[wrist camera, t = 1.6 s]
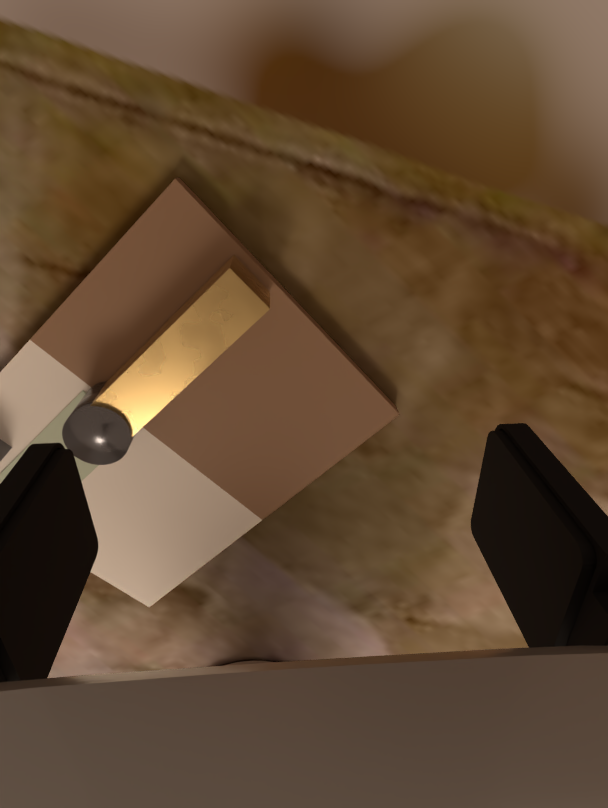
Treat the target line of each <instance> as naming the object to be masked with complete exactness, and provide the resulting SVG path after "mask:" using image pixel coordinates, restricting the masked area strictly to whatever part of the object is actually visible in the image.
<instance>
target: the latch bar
mask: <svg viewBox="0 0 608 808" xmlns="http://www.w3.org/2000/svg"><path fill="white" fill-rule="evenodd" d="M269 310H270V291H269V290H268V289H267V288H266V287H265V286H264V285H263V284H262V283H261V282H260V281H259V280H258V279H257V278H256V277H255V276H254V275H253V274H252V273H251V272H250V271H249V270H248V269H247V268H246V267H245V266H244V265H243V264H242V262H241V261H240V260H239V259H238V258H237V257H236V256H235V255H233V256H232V257H231V258H230V259H229V260H228V261H227V262H226V263H225V264H224V265H223V266H222V267H221V268H220V269H219V270H218V271H217V272H216V273H215V274H214V275H213V276H212V277H211V278H210V279H209V280H208V281H207V282H206V283H205V284H204V285H203V286H202V287H201V288H200V289H199V290H198V291H197V292H196V293H195V294H194V295H193V296H192V297H191V298H190V299H189V300H188V301H187V302H186V303H185V304H184V305H183V306H182V307H181V308H180V309H179V310H178V311H177V312H176V313H175V314H174V315H173V316H172V317H171V318H170V319H169V320H168V321H167V322H166V323H165V324H164V325H163V326H162V327H161V328H160V329H159V330H158V331H157V332H156V333H155V334H154V335H153V336H152V337H151V338H150V339H149V340H148V341H147V342H146V343H145V344H144V345H143V346H142V347H141V348H140V349H139V350H138V351H137V352H136V353H135V354H134V355H133V356H132V357H131V358H130V359H129V360H128V361H127V362H126V363H125V364H124V365H123V366H122V367H121V368H120V369H119V370H118V371H117V372H116V373H115V374H114V375H113V376H112V377H111V378H110V379H109V380H108V381H104V382H100V383H97V384H95V385H94V386H92V387H91V388H90V389H89V390H88V391H87V393H86V394H85V395H84V397H83V398H82V399H81V401H80V402H79V404H78V405H77V406H76V408H75V409H74V410H73V412H72V413H71V415H70V416H69V417H68V419H67V420H66V422H65V423H64V425H63V429H62V438H63V441H64V444H65V446H66V447H67V449H70V450H71V451H72V452H73V454H74V456H75V457H77V458H78V459H80V460H82V461H84V462H87V463H90V464H94V465H107V464H112V463H114V462H117V461H118V460H120V459H121V458H123V457H124V455H125V454H126V453H127V451H128V449H129V447H130V444H131V442H132V440H133V438H134V436H135V434H136V433H137V432H138V431H139V430H140V429H141V428H142V427H143V426H145V425H146V424H147V423H148V422H149V421H150V420H151V419H152V418H153V417H154V416H155V415H156V414H157V413H159V412H160V411H161V410H162V409H163V408H164V407H165V406H166V405H167V404H168V403H169V402H170V401H171V400H173V399H174V398H175V397H176V396H177V395H178V394H179V393H180V392H181V391H182V390H183V389H184V388H185V387H187V386H188V385H189V384H190V383H191V382H192V381H193V380H194V379H195V378H196V377H197V376H198V375H199V374H201V373H202V372H203V371H204V370H205V369H206V368H207V367H208V366H209V365H210V364H211V363H212V362H214V361H215V360H216V359H217V358H218V357H219V356H220V355H221V354H222V353H223V352H224V351H225V350H226V349H228V348H229V347H230V346H231V345H232V344H233V343H234V342H235V341H236V340H237V339H238V338H239V337H240V336H242V335H243V334H244V333H245V332H246V331H247V330H248V329H249V328H250V327H251V326H252V325H253V324H254V323H256V322H257V321H258V320H259V319H260V318H261V317H262V316H263V315H264V314H265V313H266V312H267V311H269Z"/></svg>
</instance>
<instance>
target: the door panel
mask: <svg viewBox="0 0 608 808" xmlns="http://www.w3.org/2000/svg"><path fill="white" fill-rule="evenodd" d="M233 255H235V256H236V257H237V258H238V259H239V260H240V261H241V262H242V264H243V265H244V266H245V267H246V268H247V269H248V270H249V271H250V272H251V273H252V274H253V275H254V276H255V277H256V278H257V279H258V280H259V281H260V282H261V283H262V284H263V285H264V286H265V287H266V288H267V289H268V290H269V291H270V310H269V311H267V312H266V313H265V314H264V315H263V316H262V317H261V318H260V319H259V320H258V321H257V322H256V323H254V324H253V325H252V326H251V327H250V328H249V329H248V330H247V331H246V332H245V333H244V334H243V335H242V336H240V337H239V338H238V339H237V340H236V341H235V342H234V343H233V344H232V345H231V346H230V347H229V348H228V349H226V350H225V351H224V352H223V353H222V354H221V355H220V356H219V357H218V358H217V359H216V360H215V361H214V362H212V363H211V364H210V365H209V366H208V367H207V368H206V369H205V370H204V371H203V372H202V373H201V374H199V375H198V376H197V377H196V378H195V379H194V380H193V381H192V382H191V383H190V384H189V385H188V386H187V387H185V388H184V389H183V390H182V391H181V392H180V393H179V394H178V395H177V396H176V397H175V398H174V399H173V400H171V401H170V402H169V403H168V404H167V405H166V406H165V407H164V408H163V409H162V410H161V411H160V412H159V413H157V414H156V415H155V416H154V417H153V418H152V419H151V420H150V421H149V422H148V423H147V424H146V425H145V426H143V427H142V428H141V429H140V430H139V431H138V432H137V433H136V434H135V436H134V438H133V440H132V442H131V444H130V447H129V449H128V451H127V453H126V454H125V455H124V457H123V458H121V459H120V460H118V461H117V462H114V463H112V464H107V465H94V464H90V463H87V462H84V461H82V460H80V459H78V458H77V457H75V456H74V458H75V461H76V465H77V468H78V472H79V475H80V479H81V482H82V486H83V489H84V493H85V496H86V500H87V503H88V507H89V510H90V514H91V517H92V521H93V524H94V528H95V531H96V535H97V538H98V553H97V557H96V559H95V562H94V564H93V567H92V569H91V571H90V572H92V573H93V574H95V575H97V576H98V577H100V578H102V579H103V580H105V581H106V582H108V583H110V584H111V585H113V586H115V587H116V588H118V589H120V590H121V591H123V592H125V593H126V594H128V595H130V596H131V597H133V598H135V599H136V600H138V601H140V602H141V603H143V604H144V605H146V606H148V607H150V606H151V605H153V604H154V603H155V602H157V601H158V600H159V599H161V598H162V597H163V596H164V595H166V594H167V593H168V592H170V591H171V590H172V589H174V588H175V587H176V586H177V585H179V584H180V583H181V582H183V581H184V580H185V579H187V578H188V577H189V576H190V575H192V574H193V573H194V572H196V571H197V570H198V569H199V568H201V567H202V566H203V565H205V564H206V563H207V562H209V561H210V560H211V559H212V558H214V557H215V556H216V555H218V554H219V553H220V552H222V551H223V550H224V549H225V548H227V547H228V546H229V545H231V544H232V543H233V542H235V541H236V540H237V539H238V538H240V537H241V536H242V535H244V534H245V533H246V532H248V531H249V530H250V529H251V528H253V527H254V526H255V525H257V524H258V523H259V522H261V521H262V520H263V519H264V518H266V517H267V516H268V515H270V514H271V513H272V512H274V511H275V510H276V509H277V508H279V507H280V506H281V505H283V504H284V503H285V502H287V501H288V500H289V499H290V498H292V497H293V496H294V495H296V494H297V493H298V492H300V491H301V490H302V489H303V488H305V487H306V486H307V485H309V484H310V483H311V482H313V481H314V480H315V479H316V478H318V477H319V476H320V475H322V474H323V473H324V472H325V471H327V470H328V469H329V468H331V467H332V466H333V465H335V464H336V463H337V462H338V461H340V460H341V459H342V458H344V457H345V456H346V455H348V454H349V453H350V452H351V451H353V450H354V449H355V448H357V447H358V446H359V445H361V444H362V443H363V442H364V441H366V440H367V439H368V438H370V437H371V436H372V435H374V434H375V433H376V432H377V431H379V430H380V429H381V428H383V427H384V426H385V425H387V424H388V423H389V422H390V421H392V420H393V419H394V418H396V417H397V416H398V415H400V414H399V412H398V410H397V408H396V406H395V405H394V404H393V403H392V402H391V400H390V399H389V398H388V397H387V396H386V395H385V394H384V393H383V392H382V391H381V390H380V389H379V388H378V387H377V386H376V385H375V384H374V383H373V381H372V380H371V379H370V378H369V377H368V376H367V375H366V374H365V373H364V372H363V371H362V370H361V369H360V368H359V367H358V366H357V365H356V364H355V362H354V361H353V360H352V359H351V358H350V357H349V356H348V355H347V354H346V353H345V352H344V351H343V350H342V349H341V348H340V347H339V346H338V345H337V343H336V342H335V341H334V340H333V339H332V338H331V337H330V336H329V335H328V334H327V333H326V332H325V331H324V330H323V329H322V328H321V327H320V326H319V324H318V323H317V322H316V321H315V320H314V319H313V318H312V317H311V316H310V315H309V314H308V313H307V312H306V311H305V310H304V309H303V308H302V307H301V305H300V304H299V303H298V302H297V301H296V300H295V299H294V298H293V297H292V296H291V295H290V294H289V293H288V292H287V291H286V290H285V289H284V288H283V286H282V285H281V284H280V283H279V282H278V281H277V280H276V279H275V278H274V277H273V276H272V275H271V274H270V273H269V272H268V271H267V270H266V269H265V267H264V266H263V265H262V264H261V263H260V262H259V261H258V260H257V259H256V258H255V257H254V256H253V255H252V254H251V253H250V252H249V251H248V250H247V248H246V247H245V246H244V245H243V244H242V243H241V242H240V241H239V240H238V239H237V238H236V237H235V236H234V235H233V234H232V233H231V232H230V231H229V229H228V228H227V227H226V226H225V225H224V224H223V223H222V222H221V221H220V220H219V219H218V218H217V217H216V216H215V215H214V214H213V213H212V212H211V210H210V209H209V208H208V207H207V206H206V205H205V204H204V203H203V202H202V201H201V200H200V199H199V198H198V197H197V196H196V195H195V194H194V192H193V191H192V190H191V189H190V188H189V187H188V186H187V185H186V184H185V183H184V182H183V181H182V180H181V179H180V178H179V177H178V178H175V179H174V180H173V181H172V182H171V184H170V185H169V186H168V187H167V188H166V189H165V190H164V191H163V192H162V194H161V195H160V196H159V197H158V198H157V199H156V200H155V201H154V202H153V204H152V205H151V206H150V207H149V208H148V209H147V210H146V211H145V212H144V214H143V215H142V216H141V217H140V218H139V219H138V220H137V221H136V222H135V224H134V225H133V226H132V227H131V228H130V229H129V230H128V231H127V232H126V233H125V235H124V236H123V237H122V238H121V239H120V240H119V241H118V242H117V243H116V245H115V246H114V247H113V248H112V249H111V250H110V251H109V252H108V253H107V255H106V256H105V257H104V258H103V259H102V260H101V261H100V262H99V263H98V265H97V266H96V267H95V268H94V269H93V270H92V271H91V272H90V273H89V275H88V276H87V277H86V278H85V279H84V280H83V281H82V282H81V283H80V284H79V286H78V287H77V288H76V289H75V290H74V291H73V292H72V293H71V294H70V296H69V297H68V298H67V299H66V300H65V301H64V302H63V303H62V304H61V306H60V307H59V308H58V309H57V310H56V311H55V312H54V313H53V314H52V316H51V317H50V318H49V319H48V320H47V321H46V322H45V323H44V324H43V326H42V327H41V328H40V329H39V330H38V331H37V332H36V333H35V334H34V335H33V337H32V338H31V339H30V340H29V341H28V342H27V343H26V344H25V345H24V347H23V348H22V349H21V350H20V351H19V352H18V353H17V354H16V355H15V357H14V358H13V359H12V360H11V361H10V362H9V363H8V364H7V365H6V367H5V368H4V369H3V370H2V371H1V372H0V484H1V482H2V481H3V480H4V479H5V477H6V476H7V475H8V473H9V472H10V471H11V469H12V468H13V467H14V465H15V464H16V463H17V462H18V460H19V459H20V458H21V456H22V455H23V454H24V452H25V451H26V450H27V448H28V447H29V446H30V445H31V444H40V443H61V444H62V445H63V446H64V448H65V449H67V447H66V446H65V444H64V441H63V438H62V429H63V425H64V423H65V422H66V420H67V419H68V417H69V416H70V415H71V413H72V412H73V410H74V409H75V408H76V406H77V405H78V404H79V402H80V401H81V399H82V398H83V397H84V395H85V394H86V393H87V391H88V390H89V389H90V388H91V387H92V386H94V385H95V384H97V383H100V382H104V381H108V380H109V379H110V378H111V377H112V376H113V375H114V374H115V373H116V372H117V371H118V370H119V369H120V368H121V367H122V366H123V365H124V364H125V363H126V362H127V361H128V360H129V359H130V358H131V357H132V356H133V355H134V354H135V353H136V352H137V351H138V350H139V349H140V348H141V347H142V346H143V345H144V344H145V343H146V342H147V341H148V340H149V339H150V338H151V337H152V336H153V335H154V334H155V333H156V332H157V331H158V330H159V329H160V328H161V327H162V326H163V325H164V324H165V323H166V322H167V321H168V320H169V319H170V318H171V317H172V316H173V315H174V314H175V313H176V312H177V311H178V310H179V309H180V308H181V307H182V306H183V305H184V304H185V303H186V302H187V301H188V300H189V299H190V298H191V297H192V296H193V295H194V294H195V293H196V292H197V291H198V290H199V289H200V288H201V287H202V286H203V285H204V284H205V283H206V282H207V281H208V280H209V279H210V278H211V277H212V276H213V275H214V274H215V273H216V272H217V271H218V270H219V269H220V268H221V267H222V266H223V265H224V264H225V263H226V262H227V261H228V260H229V259H230V258H231V257H232V256H233Z"/></svg>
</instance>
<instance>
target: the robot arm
mask: <svg viewBox="0 0 608 808" xmlns="http://www.w3.org/2000/svg"><path fill="white" fill-rule="evenodd" d="M471 530H472V534H473V536H474V539H475V541H476V543H477V545H478V547H479V549H480V551H481V553H482V555H483V557H484V559H485V561H486V563H487V565H488V567H489V569H490V571H491V572H492V574H493V576H494V578H495V580H496V582H497V584H498V586H499V588H500V590H501V592H502V594H503V596H504V598H505V600H506V602H507V604H508V606H509V608H510V610H511V612H512V614H513V616H514V618H515V620H516V622H517V624H518V626H519V628H520V630H521V632H522V634H523V636H524V638H525V640H526V642H527V644H528V646H529V648H509V649H489V650H471V651H454V652H437V653H420V654H402V655H385V656H368V657H352V658H336V659H320V660H304V661H288V662H269V661H242V662H236V663H231V664H227V665H224V666H211V667H197V668H182V669H168V670H153V671H139V672H124V673H110V674H95V675H81V676H70V677H58V678H47V677H48V674H49V672H50V670H51V667H52V665H53V662H54V660H55V657H56V655H57V652H58V650H59V648H60V645H61V643H62V640H63V638H64V635H65V633H66V630H67V628H68V625H69V623H70V621H71V618H72V616H73V613H74V611H75V608H76V606H77V603H78V601H79V598H80V596H81V594H82V591H83V589H84V586H85V584H86V581H87V579H88V576H89V574H90V571H91V569H92V567H93V564H94V562H95V559H96V557H97V553H98V538H97V535H96V531H95V528H94V524H93V521H92V517H91V514H90V510H89V507H88V503H87V500H86V496H85V493H84V489H83V486H82V482H81V479H80V475H79V472H78V468H77V465H76V461H75V458H74V454H73V452H72V451H71V450H70V449H65V448H64V446H63V445H62V444H61V443H40V444H31V445H30V446H29V447H28V448H27V450H26V451H25V452H24V454H23V455H22V456H21V458H20V459H19V460H18V462H17V463H16V464H15V465H14V467H13V468H12V469H11V471H10V472H9V473H8V475H7V476H6V477H5V479H4V480H3V481H2V482H1V484H0V808H608V516H607V515H606V514H605V513H604V512H603V511H602V509H601V508H600V507H599V506H598V505H597V504H596V503H595V501H594V500H593V499H592V498H591V497H590V496H589V495H588V493H587V492H586V491H585V490H584V489H583V488H582V487H581V485H580V484H579V483H578V482H577V481H576V480H575V479H574V477H573V476H572V475H571V474H570V473H569V472H568V471H567V469H566V468H565V467H564V466H563V465H562V464H561V463H560V461H559V460H558V459H557V458H556V457H555V456H554V455H553V453H552V452H551V451H550V450H549V449H548V448H547V447H546V445H545V444H544V443H543V442H542V441H541V440H540V439H539V437H538V436H537V435H536V434H535V433H534V432H533V431H532V429H531V428H530V427H529V426H528V425H527V424H524V423H518V424H500V425H498V426H497V427H496V429H495V431H491V432H489V434H488V437H487V442H486V447H485V452H484V457H483V462H482V468H481V473H480V478H479V483H478V488H477V493H476V498H475V503H474V508H473V513H472V518H471Z"/></svg>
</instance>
